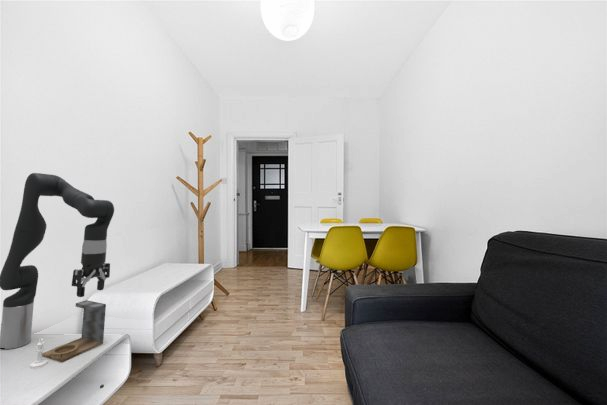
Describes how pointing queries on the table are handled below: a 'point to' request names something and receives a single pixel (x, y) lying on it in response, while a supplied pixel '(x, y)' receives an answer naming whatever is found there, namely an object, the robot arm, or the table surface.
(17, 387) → the table surface
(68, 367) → the table surface
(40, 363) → the chess piece
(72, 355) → the base
